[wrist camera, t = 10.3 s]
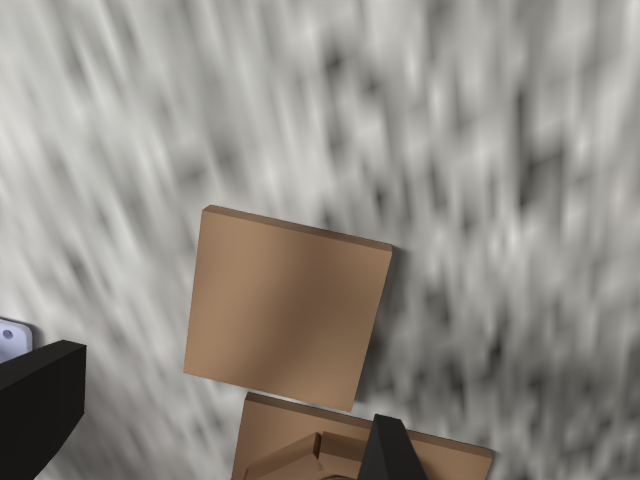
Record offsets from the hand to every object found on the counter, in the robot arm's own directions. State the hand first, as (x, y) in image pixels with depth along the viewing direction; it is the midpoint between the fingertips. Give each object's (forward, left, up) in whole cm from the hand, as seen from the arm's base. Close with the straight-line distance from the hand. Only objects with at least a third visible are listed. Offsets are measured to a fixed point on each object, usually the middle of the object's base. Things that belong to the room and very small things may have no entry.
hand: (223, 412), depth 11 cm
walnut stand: (0, -2, -10) cm, 10 cm away
